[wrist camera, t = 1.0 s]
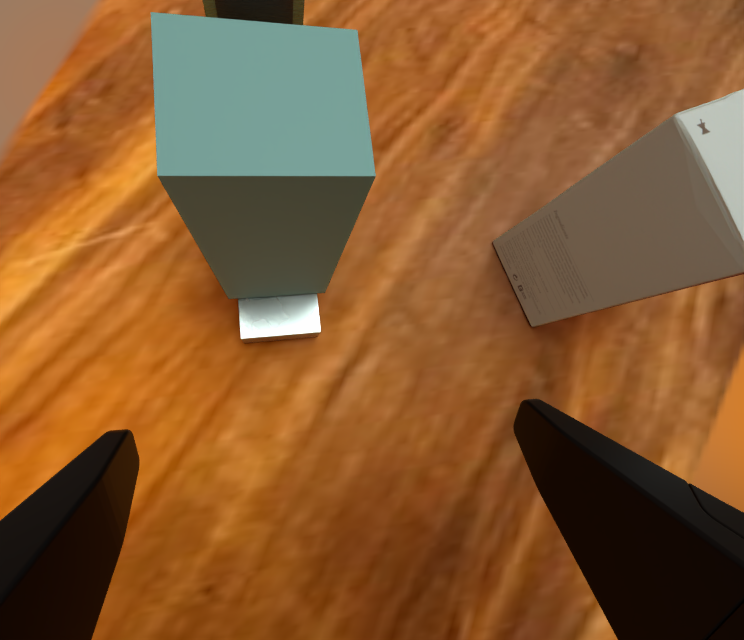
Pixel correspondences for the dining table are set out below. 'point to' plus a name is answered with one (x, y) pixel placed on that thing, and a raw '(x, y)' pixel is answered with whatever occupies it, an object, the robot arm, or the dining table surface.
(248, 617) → the dining table surface
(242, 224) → the tall teal pillar
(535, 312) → the small box
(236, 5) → the rail
